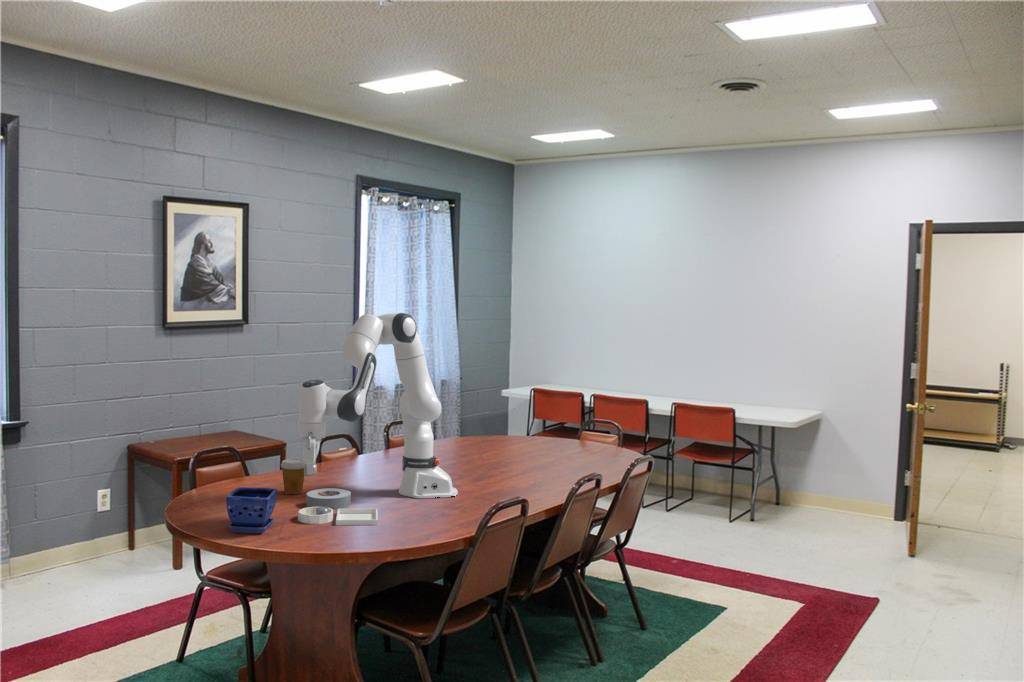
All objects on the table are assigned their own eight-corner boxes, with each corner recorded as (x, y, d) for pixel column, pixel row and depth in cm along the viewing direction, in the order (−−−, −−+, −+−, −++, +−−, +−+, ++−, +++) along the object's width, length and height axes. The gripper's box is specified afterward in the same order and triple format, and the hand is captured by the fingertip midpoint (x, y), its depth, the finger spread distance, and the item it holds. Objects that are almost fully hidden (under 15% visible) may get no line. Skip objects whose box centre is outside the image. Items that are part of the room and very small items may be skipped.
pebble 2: (328, 517, 275) (328, 507, 275) (327, 520, 271) (327, 510, 271) (316, 517, 275) (316, 506, 274) (315, 520, 271) (315, 510, 270)
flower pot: (278, 524, 268) (279, 487, 267) (267, 536, 255) (268, 497, 254) (236, 523, 268) (237, 486, 267) (223, 534, 254) (224, 496, 254)
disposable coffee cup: (311, 491, 313) (311, 460, 312) (298, 497, 304) (298, 464, 303) (288, 489, 316) (289, 457, 315) (275, 494, 306) (275, 462, 306)
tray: (377, 515, 283) (377, 508, 283) (377, 527, 269) (377, 520, 269) (337, 515, 281) (338, 508, 281) (335, 527, 267) (335, 520, 266)
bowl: (333, 517, 279) (334, 506, 279) (331, 526, 268) (332, 515, 268) (299, 517, 277) (300, 506, 277) (296, 526, 266) (297, 515, 266)
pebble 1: (317, 473, 274) (317, 463, 274) (316, 476, 270) (316, 465, 270) (304, 473, 273) (304, 463, 273) (303, 476, 269) (303, 465, 269)
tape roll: (306, 513, 283) (307, 498, 283) (305, 502, 298) (305, 488, 297) (352, 512, 287) (353, 497, 287) (348, 501, 302) (349, 487, 302)
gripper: (319, 435, 261) (318, 479, 262) (323, 425, 281) (322, 466, 282) (298, 435, 260) (297, 479, 261) (304, 425, 280) (303, 465, 281)
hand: (310, 472), depth 271 cm, fingers closed on pebble 1, 4 cm apart
